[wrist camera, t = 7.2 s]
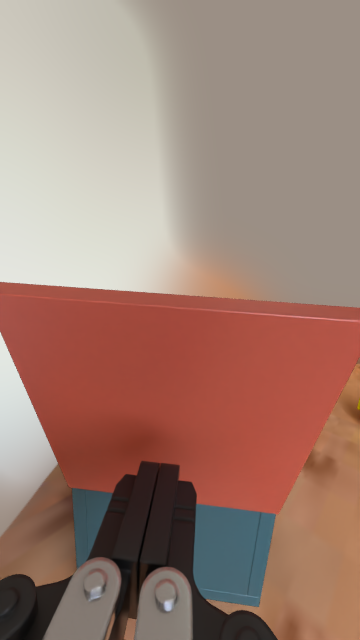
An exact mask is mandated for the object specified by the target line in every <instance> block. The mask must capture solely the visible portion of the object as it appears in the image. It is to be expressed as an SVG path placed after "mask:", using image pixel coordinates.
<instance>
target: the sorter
mask: <svg viewBox="0 0 360 640" xmlns="http://www.w3.org/2000/svg"><path fill="white" fill-rule="evenodd" d="M112 494H113V493H110V492H102V491H94V490H86V489H79V488H72V496H73V513H74V530H75V547H76V563H77V569H78V568H79V567H80V566H81V565H82V564H84V563H85V562H86V560H87V559H88V557H89V555H90V552H91V550H92V547H93V544H94V542H95V539H96V536H97V534H98V531H99V528H100V526H101V523H102V521H103V518H104V515H105V513H106V511H107V507H108V505H109V502H110V500H111V497H112ZM275 516H276V514H272V513H264V512H257V511H249V510H241V509H233V508H226V507H218V506H210V505H203V504H196V521H195V542H194V562H193V575H194V580H195V584H196V586H197V588H198V590H199V592H200V593H201V595H202V596H203V597H204V599H211V600H217V601H224V602H230V603H236V604H243V605H249V606H256V607H259V603H260V597H261V592H262V586H263V581H264V576H265V570H266V565H267V559H268V554H269V549H270V543H271V538H272V532H273V527H274V521H275Z"/></svg>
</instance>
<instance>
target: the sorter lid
mask: <svg viewBox="0 0 360 640" xmlns="http://www.w3.org/2000/svg"><path fill="white" fill-rule="evenodd" d="M0 332H1V334H2V337H3V339H4V341H5V344H6V346H7V348H8V350H9V352H10V355H11V357H12V359H13V362H14V364H15V366H16V369H17V371H18V373H19V375H20V378H21V380H22V382H23V384H24V387H25V389H26V391H27V393H28V396H29V398H30V400H31V403H32V405H33V407H34V409H35V412H36V414H37V416H38V418H39V421H40V423H41V425H42V427H43V430H44V432H45V434H46V437H47V439H48V441H49V443H50V446H51V448H52V450H53V452H54V455H55V457H56V459H57V462H58V464H59V466H60V468H61V471H62V473H63V475H64V477H65V480H66V482H67V484H68V487H71V488H79V489H86V490H94V491H102V492H110V493H113V492H114V489H115V486H116V484H117V483H118V482H119V481H120V480H121V479H122V478H123V476H124V475H125V474H131V475H137V473H138V470H139V466H140V463H141V461H149V462H158V463H160V466H161V463H167V464H176V465H180V471H179V480H181V481H189V482H192V483H193V486H194V488H195V491H196V493H197V502H196V504H203V505H210V506H218V507H226V508H233V509H241V510H249V511H257V512H264V513H272V514H279V512H280V510H281V508H282V506H283V504H284V502H285V501H286V499H287V497H288V495H289V493H290V491H291V489H292V487H293V485H294V483H295V481H296V479H297V477H298V475H299V473H300V472H301V470H302V468H303V466H304V464H305V462H306V460H307V458H308V456H309V454H310V452H311V450H312V448H313V446H314V444H315V442H316V441H317V439H318V437H319V435H320V433H321V431H322V429H323V427H324V425H325V423H326V421H327V419H328V417H329V415H330V413H331V412H332V410H333V408H334V406H335V404H336V402H337V400H338V398H339V396H340V394H341V392H342V390H343V388H344V386H345V384H346V382H347V381H348V379H349V377H350V375H351V373H352V371H353V369H354V367H355V365H356V363H357V361H358V359H359V357H360V308H354V307H340V306H326V305H313V304H298V303H285V302H271V301H255V300H243V299H229V298H215V297H200V296H187V295H174V294H173V295H172V294H159V293H145V292H131V291H117V290H103V289H89V288H76V287H62V286H47V285H33V284H20V283H5V282H0Z"/></svg>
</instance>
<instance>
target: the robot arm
mask: <svg viewBox="0 0 360 640" xmlns="http://www.w3.org/2000/svg"><path fill="white" fill-rule="evenodd" d="M179 471H180V465H176V464H167V463H161V466H160V463H158V462H149V461H141V463H140V466H139V470H138V473H137V475H131V474H125V475H124V476H123V478H122V479H121V480H120V481H119V482H118V483H117V484H116V486H115V489H114V492H113V494H112V497H111V500H110V502H109V505H108V507H107V511H106V513H105V515H104V518H103V521H102V523H101V526H100V528H99V531H98V534H97V536H96V539H95V542H94V544H93V547H92V550H91V552H90V555H89V557H88V559H87V560H86V562H85V563H84V564H82V565H81V566H80V567H79V568H78V569H77V570H76V572H75V573H74V574H73V575H72V576H70V577H69V578H67V579H65V580H62V581H59V582H55V583H51V584H46V585H42V586H38V587H36V586H35V583H34V582H33V580H32V579H31V578H30V577H28V576H26V575H23V574H16V575H11V576H8V577H6V578H4V579H2V580H0V640H123V639H124V634H125V630H126V625H127V620H128V618H133V619H137V622H136V629H135V637H134V640H278V639H277V638H276V636H275V635H274V634H273V632H272V631H271V629H270V628H269V627H268V625H267V624H266V623H265V622H264V621H263V620H262V619H261V618H260V617H259V616H257V615H256V614H254V613H252V612H249V611H245V610H239V611H235V612H233V613H231V614H230V615H228V614H226V613H224V612H223V611H221V610H219V609H218V608H216V607H214V606H213V605H211V604H210V603H209V602H208V601H206V600H205V599H204V597H203V596H202V595H201V593H200V592H199V590H198V588H197V586H196V584H195V580H194V575H193V562H194V542H195V521H196V502H197V493H196V491H195V488H194V486H193V483H192V482H189V481H181V480H179ZM137 613H138V614H137Z"/></svg>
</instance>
